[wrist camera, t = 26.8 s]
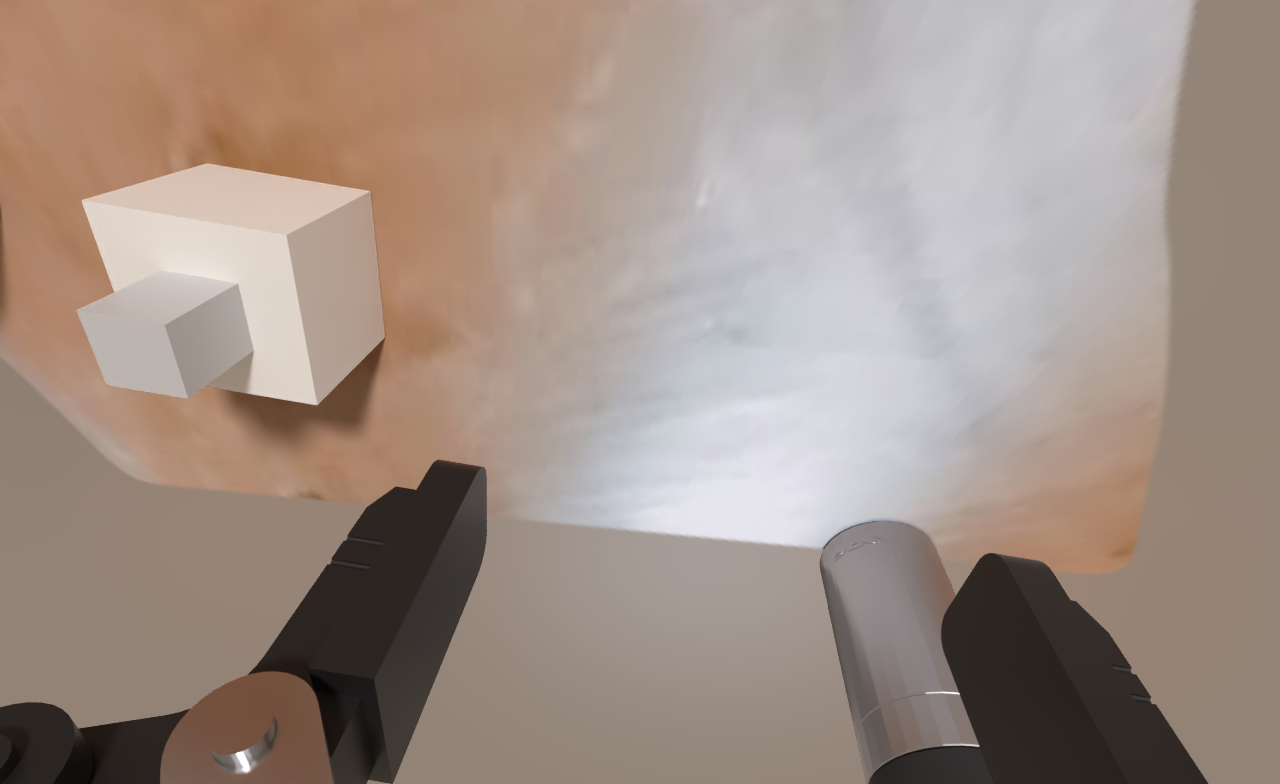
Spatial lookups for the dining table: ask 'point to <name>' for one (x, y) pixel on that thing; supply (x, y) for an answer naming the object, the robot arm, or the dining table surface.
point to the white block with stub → (234, 284)
